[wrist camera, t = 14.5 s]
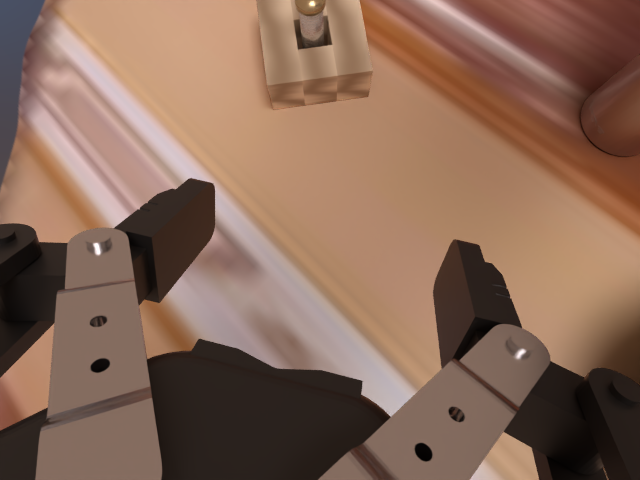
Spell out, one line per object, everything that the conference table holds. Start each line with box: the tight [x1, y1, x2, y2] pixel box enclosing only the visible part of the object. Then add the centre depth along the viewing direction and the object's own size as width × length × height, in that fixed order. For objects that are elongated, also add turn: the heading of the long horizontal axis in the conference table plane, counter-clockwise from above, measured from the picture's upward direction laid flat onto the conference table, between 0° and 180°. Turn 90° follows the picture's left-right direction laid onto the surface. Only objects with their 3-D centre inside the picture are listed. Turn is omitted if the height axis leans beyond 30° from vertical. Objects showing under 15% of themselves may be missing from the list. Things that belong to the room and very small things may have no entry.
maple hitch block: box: [256, 0, 373, 110], centre depth 45 cm, size 12×12×5 cm
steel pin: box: [295, 0, 326, 49], centre depth 43 cm, size 3×3×10 cm
